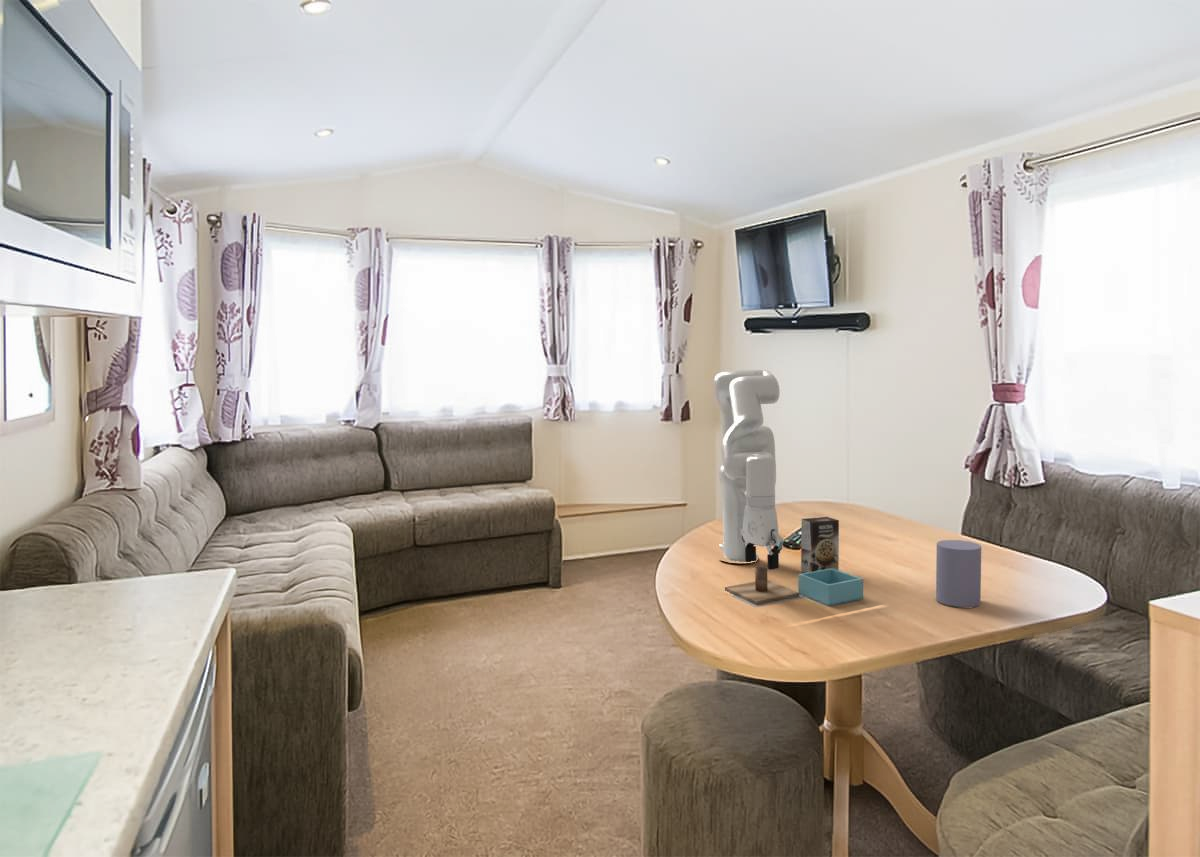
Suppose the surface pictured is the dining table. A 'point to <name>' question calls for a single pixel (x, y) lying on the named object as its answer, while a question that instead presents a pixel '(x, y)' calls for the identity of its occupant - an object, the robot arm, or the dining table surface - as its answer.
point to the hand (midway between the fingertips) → (761, 565)
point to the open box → (830, 586)
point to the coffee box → (819, 544)
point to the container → (958, 573)
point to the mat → (765, 603)
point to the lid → (761, 589)
